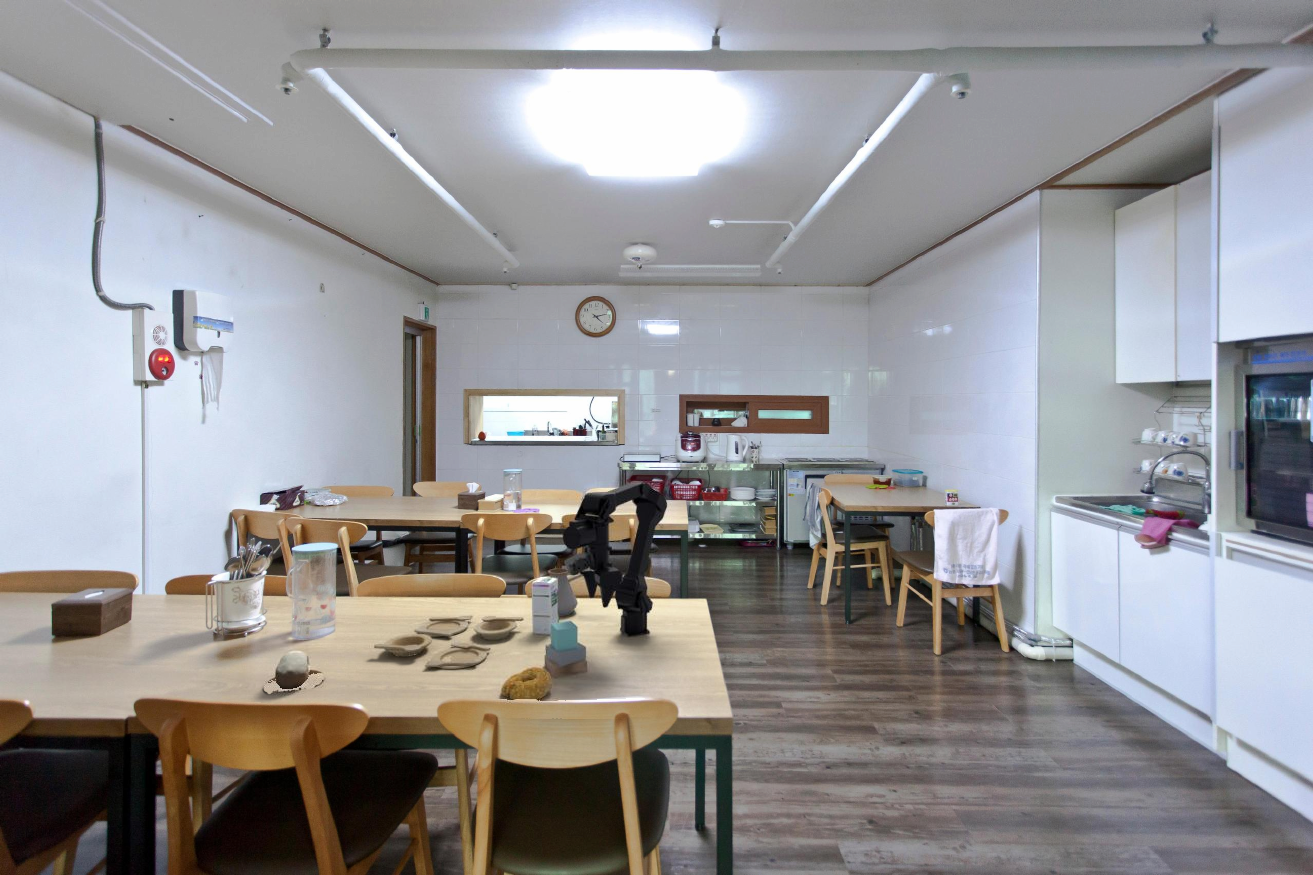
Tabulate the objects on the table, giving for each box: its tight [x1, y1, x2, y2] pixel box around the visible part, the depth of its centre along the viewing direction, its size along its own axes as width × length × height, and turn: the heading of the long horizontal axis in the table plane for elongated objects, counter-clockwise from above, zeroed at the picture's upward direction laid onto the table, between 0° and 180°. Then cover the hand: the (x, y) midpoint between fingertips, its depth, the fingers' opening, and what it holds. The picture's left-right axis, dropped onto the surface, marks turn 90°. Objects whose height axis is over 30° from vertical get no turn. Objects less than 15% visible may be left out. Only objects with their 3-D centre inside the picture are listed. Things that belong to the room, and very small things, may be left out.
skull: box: [267, 650, 322, 689], centre depth 142 cm, size 12×10×10 cm
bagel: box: [500, 666, 553, 700], centre depth 137 cm, size 10×11×5 cm
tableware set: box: [373, 615, 524, 670], centre depth 167 cm, size 35×29×4 cm
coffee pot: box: [547, 567, 610, 617], centre depth 193 cm, size 21×12×15 cm, turn 93°
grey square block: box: [545, 642, 587, 667], centre depth 150 cm, size 7×7×3 cm
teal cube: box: [550, 620, 579, 651], centre depth 150 cm, size 5×5×5 cm
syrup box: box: [531, 576, 560, 636], centre depth 176 cm, size 6×6×14 cm
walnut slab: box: [544, 654, 588, 678], centre depth 151 cm, size 8×8×3 cm
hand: (598, 602), depth 162 cm, fingers open, 9 cm apart
